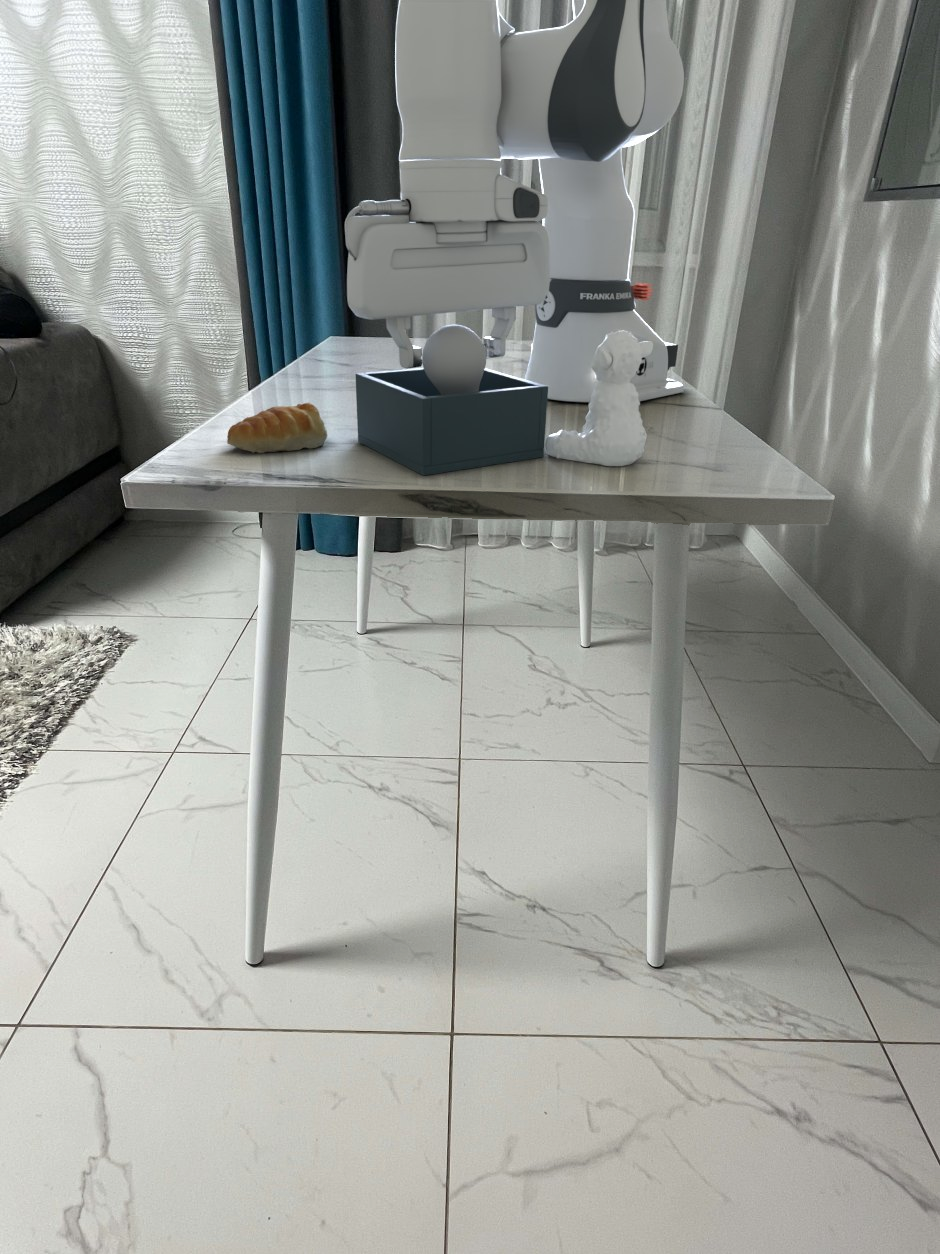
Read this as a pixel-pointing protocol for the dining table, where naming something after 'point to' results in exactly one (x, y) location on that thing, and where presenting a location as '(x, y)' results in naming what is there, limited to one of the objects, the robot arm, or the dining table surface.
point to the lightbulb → (454, 359)
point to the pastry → (279, 429)
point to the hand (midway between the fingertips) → (453, 361)
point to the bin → (450, 420)
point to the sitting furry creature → (609, 408)
